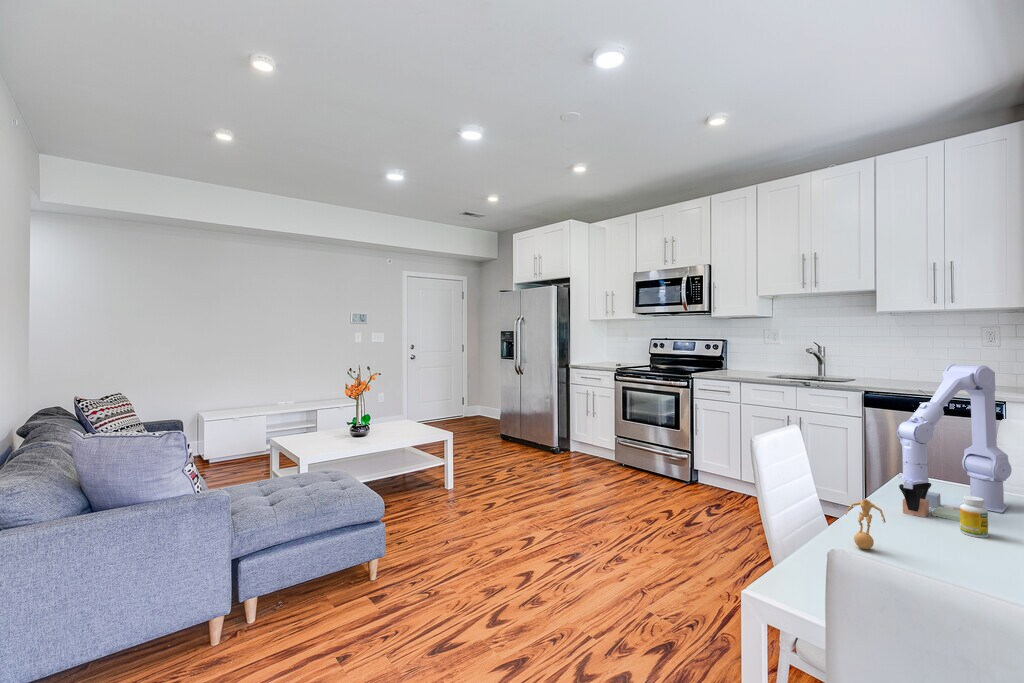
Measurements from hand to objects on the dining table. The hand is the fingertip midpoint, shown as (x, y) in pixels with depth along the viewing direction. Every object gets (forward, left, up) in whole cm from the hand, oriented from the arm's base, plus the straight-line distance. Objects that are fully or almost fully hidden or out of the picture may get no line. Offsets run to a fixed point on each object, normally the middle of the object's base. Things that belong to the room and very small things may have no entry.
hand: (915, 508), depth 145 cm
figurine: (+39, -1, -2) cm, 39 cm away
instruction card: (-12, +7, -1) cm, 14 cm away
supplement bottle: (+8, +14, -2) cm, 16 cm away
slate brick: (-11, +1, -2) cm, 11 cm away
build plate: (-5, +7, -1) cm, 8 cm away
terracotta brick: (0, 0, -1) cm, 1 cm away
